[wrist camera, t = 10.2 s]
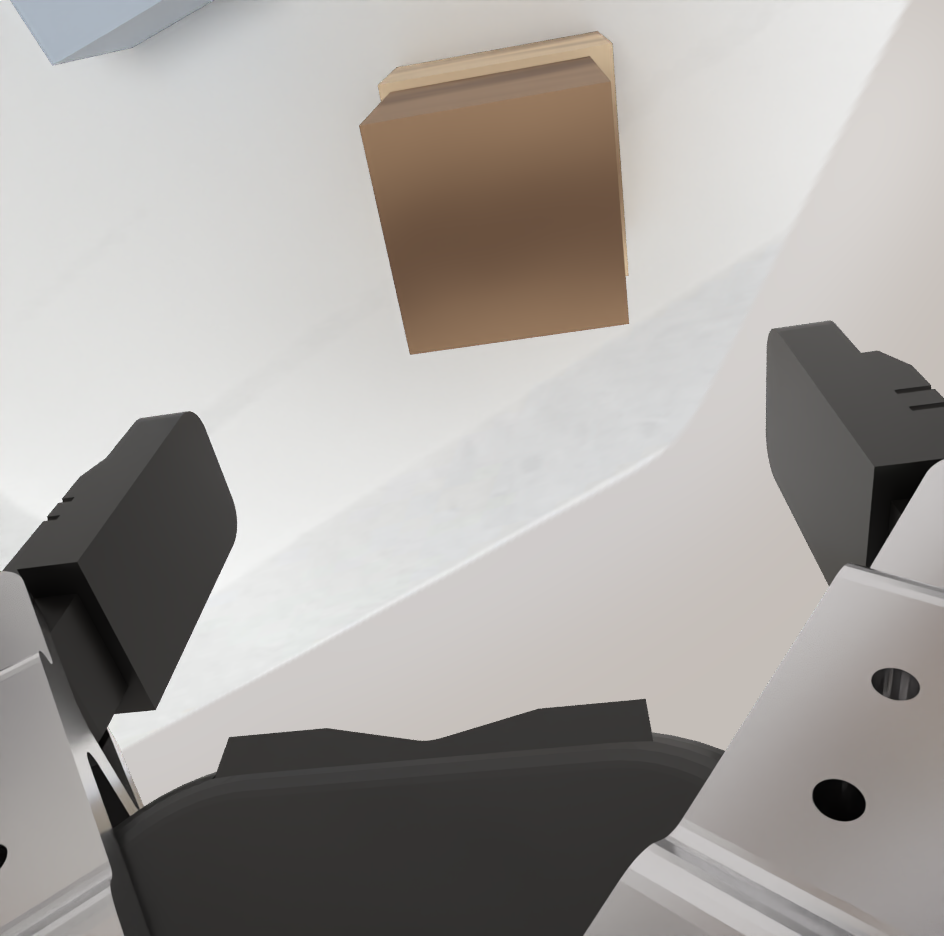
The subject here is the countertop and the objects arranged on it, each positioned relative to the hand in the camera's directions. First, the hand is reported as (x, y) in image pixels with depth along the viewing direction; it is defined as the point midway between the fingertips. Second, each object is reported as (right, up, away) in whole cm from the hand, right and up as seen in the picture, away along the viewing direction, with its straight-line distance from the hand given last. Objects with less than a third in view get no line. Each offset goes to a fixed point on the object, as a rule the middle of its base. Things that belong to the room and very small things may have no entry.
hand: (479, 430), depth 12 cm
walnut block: (+1, +9, +14) cm, 17 cm away
